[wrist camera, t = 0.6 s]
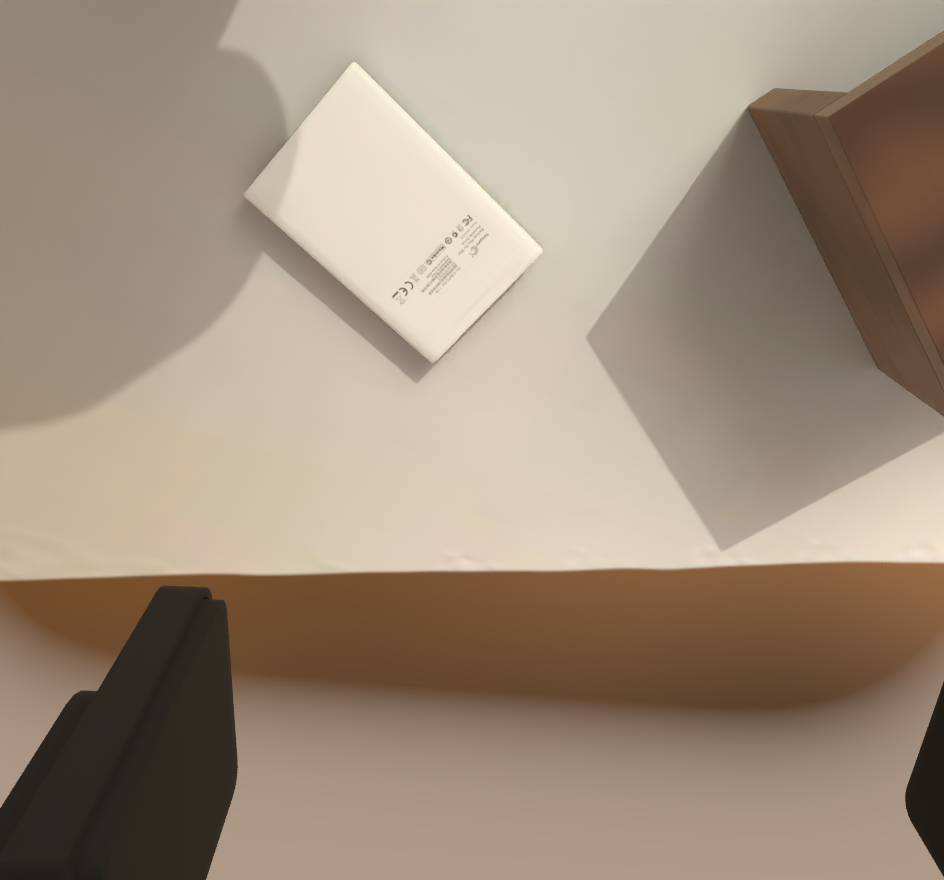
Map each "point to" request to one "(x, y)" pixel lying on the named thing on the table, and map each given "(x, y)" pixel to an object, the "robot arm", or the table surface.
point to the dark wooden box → (875, 204)
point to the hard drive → (392, 215)
